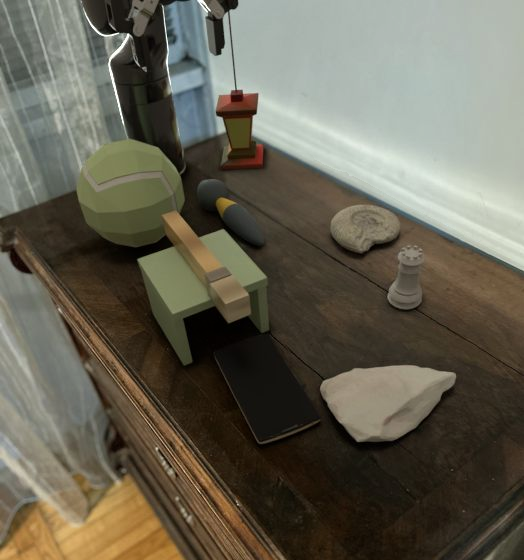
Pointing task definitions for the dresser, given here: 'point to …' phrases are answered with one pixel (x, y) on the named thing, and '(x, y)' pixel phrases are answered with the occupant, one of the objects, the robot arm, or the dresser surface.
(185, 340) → the shelf
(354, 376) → the stone
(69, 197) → the dresser surface
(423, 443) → the dresser surface
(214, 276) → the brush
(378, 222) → the fossil
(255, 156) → the light fixture
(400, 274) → the rook chess piece
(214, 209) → the paintbrush
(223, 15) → the robot arm
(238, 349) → the smartphone
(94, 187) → the decorative sphere
